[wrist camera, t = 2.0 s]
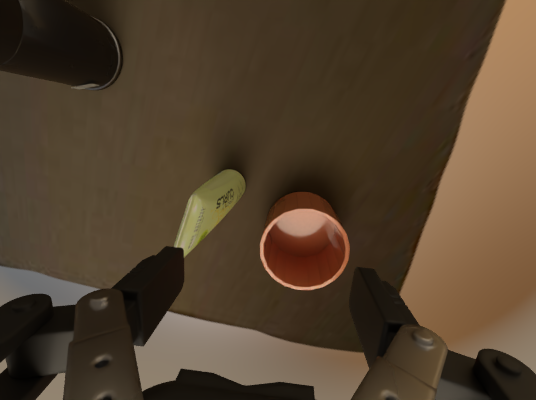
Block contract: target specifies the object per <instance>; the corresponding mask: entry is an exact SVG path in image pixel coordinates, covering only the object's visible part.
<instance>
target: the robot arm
mask: <svg viewBox="0 0 536 400" xmlns="http://www.w3.org/2000/svg"><path fill="white" fill-rule="evenodd" d="M121 66H122V52H121V48H120V44H119V42H118V40H117V38H116V36H115V34H114V33H113V31H112V30H111V29H110V28H109V27H108V26H107V25H106V24H105V23H103V22H102V21H100V20H98V19H97V18H95V17H92V16H90V15H88V14H86V13H84V12H83V11H81V10H79V9H78V8H76V7H74V6H72V5H71V4H69V3H67V2H65V1H64V0H0V71H5V72H10V73H15V74H20V75H24V76H29V77H34V78H39V79H44V80H49V81H54V82H58V83H63V84H68V85H73V86H77V87H72V88H75V89H89V90H102V89H105V88H107V87H109V86H110V85H111V84H113V83H114V81H115V80H116V79H117V77H118V75H119V73H120V70H121ZM183 283H184V250H183V248H179V247H169V246H166V247H164V248H163V249H162V250H161V251H160V252H159V253H158V254H157V255H156V256H155V255H153V256H150V257H148V258H146V259H144V260H142V261H141V262H140V263H139V264H138V265H137V266H136V268H133V269H132V270H131V271H130V273H128V274H127V275H126V276H124V277H123V278H122V279H121V280H120V281H119V282H118V283H117V284H115V285H114V286H113V287H112V288H111V289H101V290H97V291H93V292H91V293H89V294H87V295H85V296H83V297H82V298H81V299H80V300H79V301H78V302H77V304H76V305H67V306H56V307H53V306H52V300H51V297H50V296H49V295H46V294H31V295H26V296H22V297H19V298H16V299H14V300H12V301H9V302H7V303H6V304H4V305H2V306H1V307H0V362H2V361H3V360H4V359H6V362H7V368H6V369H5V370H4V371H3V372H2V373H1V374H0V400H36V398H37V397H38V396H39V395H40V394H41V393H42V392H43V390H44V389H45V388H46V387H47V386H48V385H49V384H50V382H51V381H52V380H53V379H54V378H55V377H56V375H57V374H58V373H65V372H66V375H65V385H64V395H63V400H315V398H314V387H313V386H307V385H299V384H292V383H284V382H276V383H267V384H259V385H250V386H245V385H241V384H238V383H236V382H234V381H231V380H229V379H226V378H224V377H221V376H219V375H217V374H214V373H209V372H202V371H193V370H187V369H181V370H180V372H179V374H178V376H177V378H176V381H169V382H165V383H161V384H158V385H156V386H153V387H151V388H148V389H146V390H144V391H143V392H142V389H141V383H140V378H139V373H138V367H137V362H136V356H135V351H134V345H136V346H144V345H145V344H146V342H147V341H148V339H149V338H150V336H151V335H152V333H153V332H154V330H155V329H156V327H157V325H158V324H159V322H160V321H161V320H162V318H163V316H164V315H165V314H166V312H167V311H168V309H169V308H170V306H171V305H172V303H173V302H174V300H175V299H176V297H177V296H178V294H179V293H180V291H181V289H182V287H183ZM349 307H350V312H351V315H352V318H353V321H354V324H355V327H356V330H357V333H358V336H359V339H360V342H361V345H362V348H363V351H364V355H365V358H366V360H367V364H368V366H369V371H368V372H367V374H366V376H365V377H364V379H363V381H362V382H361V384H360V385H359V387H358V389H357V390H356V392H355V393H354V395H353V397H352V399H351V400H536V374H535V373H534V372H533V371H532V370H531V369H530V368H529V367H527V366H526V365H525V364H523V363H522V362H521V361H519V360H517V359H516V358H514V357H512V356H510V355H508V354H506V353H503V352H501V351H497V350H494V349H482V350H480V351H479V352H478V355H477V358H476V359H473V358H470V357H467V356H464V355H461V354H458V353H455V352H453V351H450V350H448V348H447V345H446V343H445V342H444V341H443V340H442V339H441V338H440V337H439V336H438V335H437V334H436V333H434V332H433V331H431V330H429V329H427V328H425V327H422V326H420V325H419V324H418V322H417V321H416V319H415V318H414V316H413V315H412V313H411V312H410V310H409V309H408V307H407V306H406V305H405V303H404V301H403V300H402V298H401V297H400V295H399V294H398V292H397V290H396V289H395V288H394V287H393V286H391V285H390V284H389V283H387V282H386V281H381V280H380V278H379V276H378V275H377V273H376V271H375V270H374V269H371V268H361V267H356V268H355V271H354V276H353V281H352V287H351V292H350V298H349Z"/></svg>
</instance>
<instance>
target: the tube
mask: <svg viewBox="0 0 536 400" xmlns="http://www.w3.org/2000/svg"><path fill="white" fill-rule="evenodd" d="M245 188H246V183H245V180H244V178H243V176H242V175H241V174H240V173H239V172H237V171H235V170H231V169H227V170H223V171H221V172H220V173H218V174H217V175H215V176H214V177H213V178H211V179H210V180H209V181H207V182H206V183H205V184H203V185H202V186H201V187H199V188H198V189H197V190H196V191H195V192H194V193H193V194H192V195H191V196H190V198H189V200H188V203H187V206H186V210H185V213H184V216H183V219H182V222H181V225H180V228H179V231H178V234H177V237H176V240H175V244H174V247H179V248H183V250H184V257H185V256H186V255H187V254H188V253H189V252H190V251H191V250H192V249H193V248H194V247H195V246H196V245H197V244H198V243H199V242H200V241H201V240H202V239H203V238H204V237H205V236H206V235H207V234H208V233H209V232H210V231H211V230H212V229H213V228H214V227H215V226H216V225H217V224H218V223H219V222H220V221H221V220H222V219H223V218H224V217H225V215H226V214H227V213H228V212H229V211H230V210H231V209H232V208H233V206H234V205H235V204H236V203H237V202H238V200H239V199H240V198H241V197H242V195H243V194H244V192H245Z"/></svg>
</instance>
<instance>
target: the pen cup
mask: <svg viewBox="0 0 536 400" xmlns="http://www.w3.org/2000/svg"><path fill="white" fill-rule="evenodd" d="M349 250H350V245H349V241H348V237H347V234H346V232H345V230H344V228H343V226H342V224H341V222H340V220H339V218H338V217H337V215H336V213H335V211H334V210H333V208H332V207H331V205H330V204H329V203H328V202H327V201H326V200H325V199H323V198H322V197H320V196H318V195H316V194H314V193H310V192H294V193H290V194H288V195H285V196H284V197H282V198H280V199H279V200H278V201H277V202H276V203H275V204H274V205H273V206H272V208H271V210H270V211H269V214H268V217H267V220H266V223H265V227H264V230H263V234H262V238H261V241H260V257H261V260H262V262H263V265H264V268H265V269H266V270H267V272H268V273H269V274H270V275H271V277H272V278H273V279H275V280H276V281H278V282H279V283H280V284H282V285H284V286H286V287H289V288H293V289H296V290H313V289H317V288H321V287H324V286H326V285H327V284H329V283H331V282H333V281H334V280H335V279H336V278H337V277H338V276H339V275H340V274H341V273H342V272H343V271H344V268H345V266H346V264H347V262H348V260H349Z"/></svg>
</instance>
